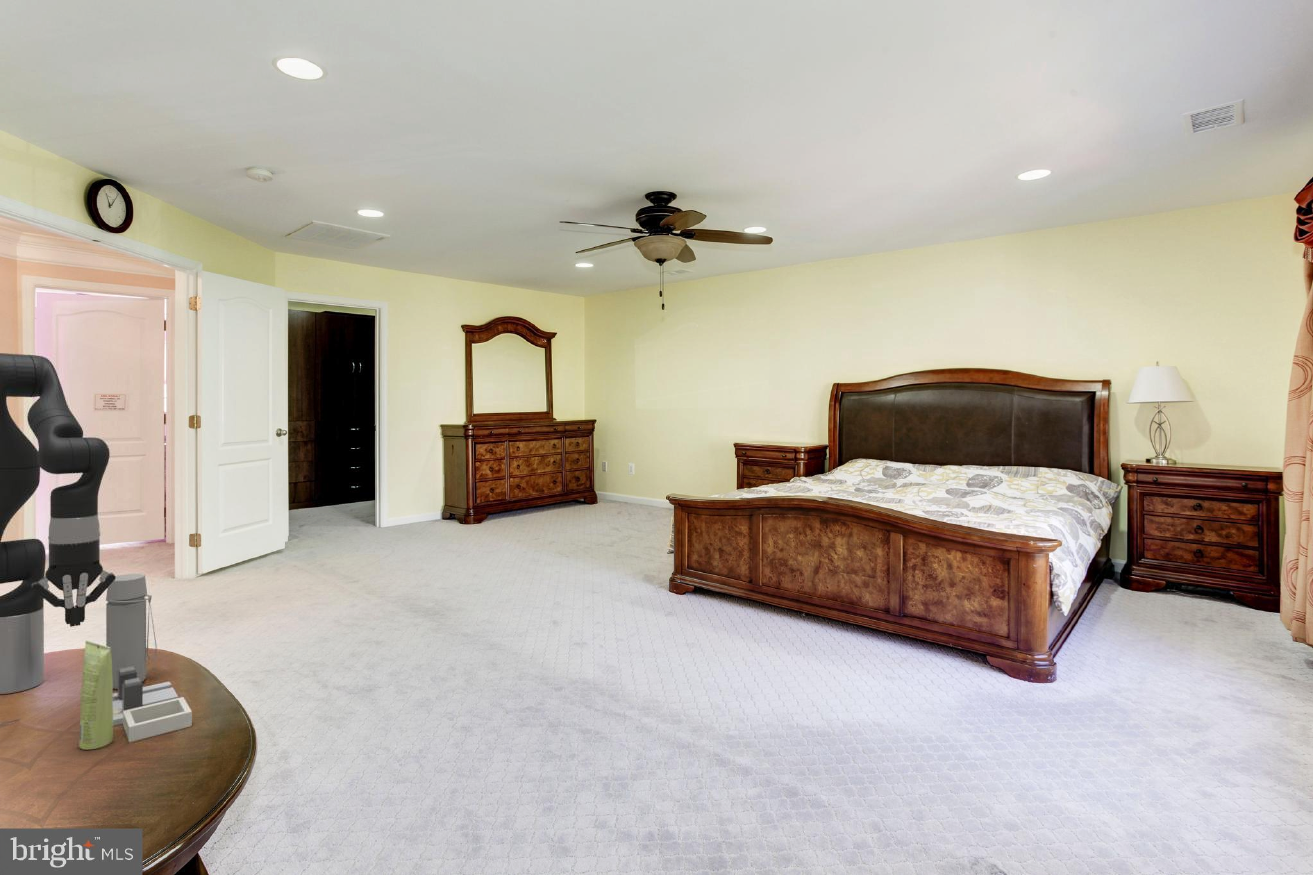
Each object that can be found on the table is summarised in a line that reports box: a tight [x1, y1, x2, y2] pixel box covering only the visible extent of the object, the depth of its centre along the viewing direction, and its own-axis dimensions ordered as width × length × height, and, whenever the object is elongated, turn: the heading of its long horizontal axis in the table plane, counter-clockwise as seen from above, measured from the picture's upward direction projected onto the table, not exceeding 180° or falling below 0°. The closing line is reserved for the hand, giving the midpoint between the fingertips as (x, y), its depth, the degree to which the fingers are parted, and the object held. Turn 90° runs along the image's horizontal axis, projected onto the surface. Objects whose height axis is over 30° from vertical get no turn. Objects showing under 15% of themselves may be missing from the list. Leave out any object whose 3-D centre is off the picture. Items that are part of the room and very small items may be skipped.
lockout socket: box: [122, 696, 193, 743], centre depth 133 cm, size 9×10×3 cm
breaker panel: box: [113, 681, 180, 727], centre depth 142 cm, size 15×12×2 cm
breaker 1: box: [116, 666, 137, 699], centre depth 143 cm, size 3×3×6 cm
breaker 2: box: [122, 678, 144, 711], centre depth 137 cm, size 3×3×6 cm
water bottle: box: [105, 573, 158, 690], centre depth 151 cm, size 9×8×25 cm
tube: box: [78, 640, 114, 751], centre depth 125 cm, size 6×5×20 cm
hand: (74, 625), depth 130 cm, fingers closed
